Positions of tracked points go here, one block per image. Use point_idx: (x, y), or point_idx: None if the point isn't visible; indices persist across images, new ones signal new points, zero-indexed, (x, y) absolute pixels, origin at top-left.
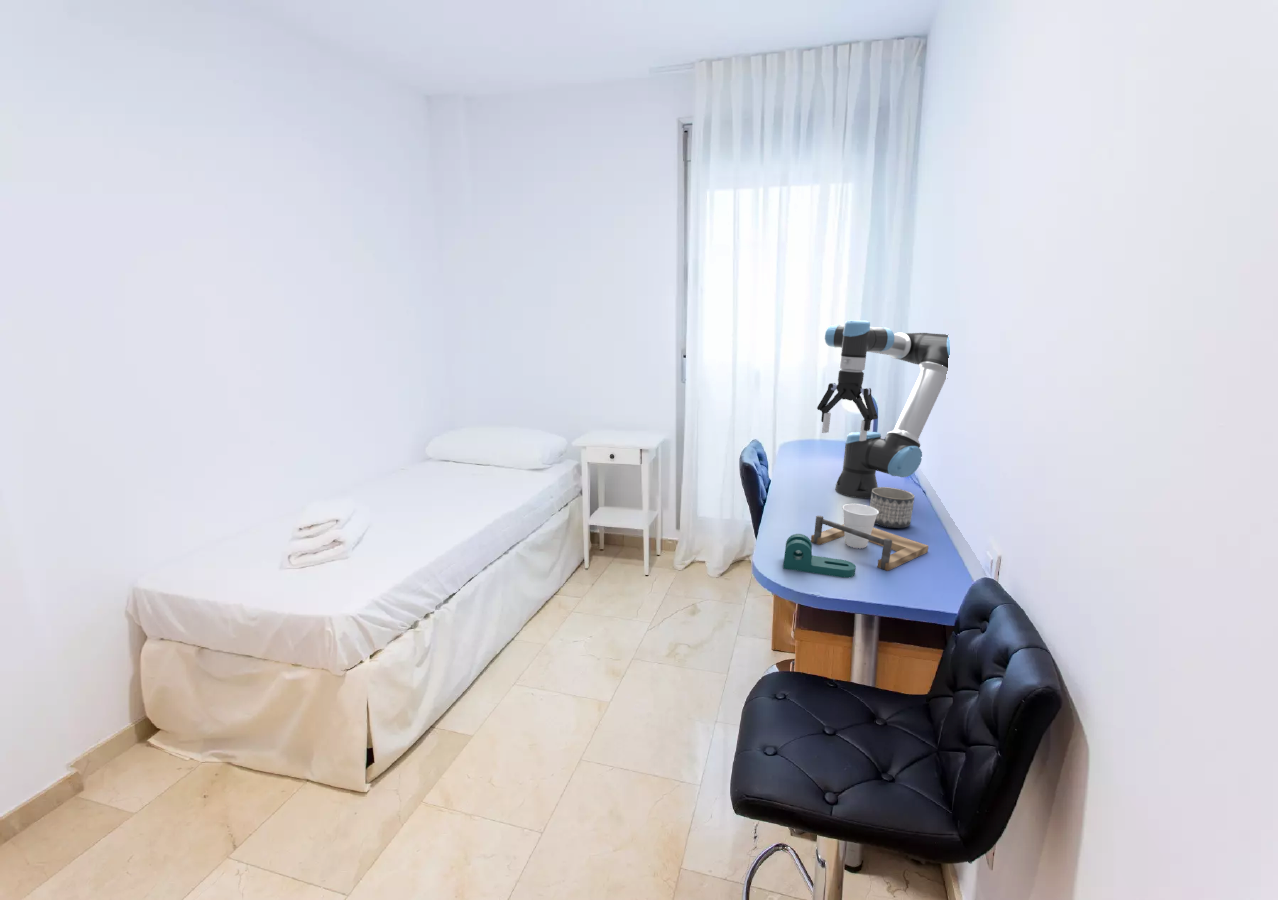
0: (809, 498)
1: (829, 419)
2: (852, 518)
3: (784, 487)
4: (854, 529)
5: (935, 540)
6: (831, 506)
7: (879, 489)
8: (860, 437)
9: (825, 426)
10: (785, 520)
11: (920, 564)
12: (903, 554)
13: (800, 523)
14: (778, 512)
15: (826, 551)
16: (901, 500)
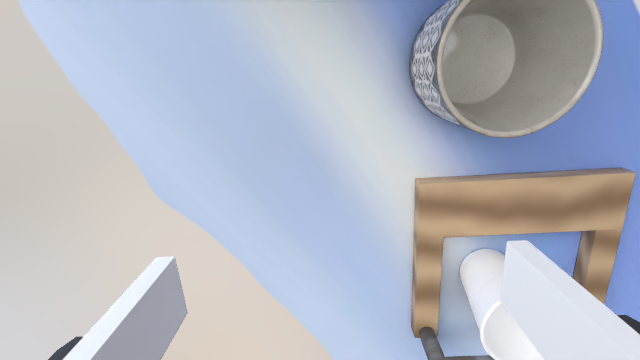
0: (188, 78)
1: (108, 351)
2: (520, 350)
3: (61, 55)
4: (511, 323)
5: (614, 67)
6: (277, 82)
7: (446, 40)
8: (521, 318)
9: (159, 342)
10: (295, 279)
11: (627, 243)
12: (604, 269)
13: (327, 265)
14: (245, 252)
15: (459, 338)
16: (571, 104)
